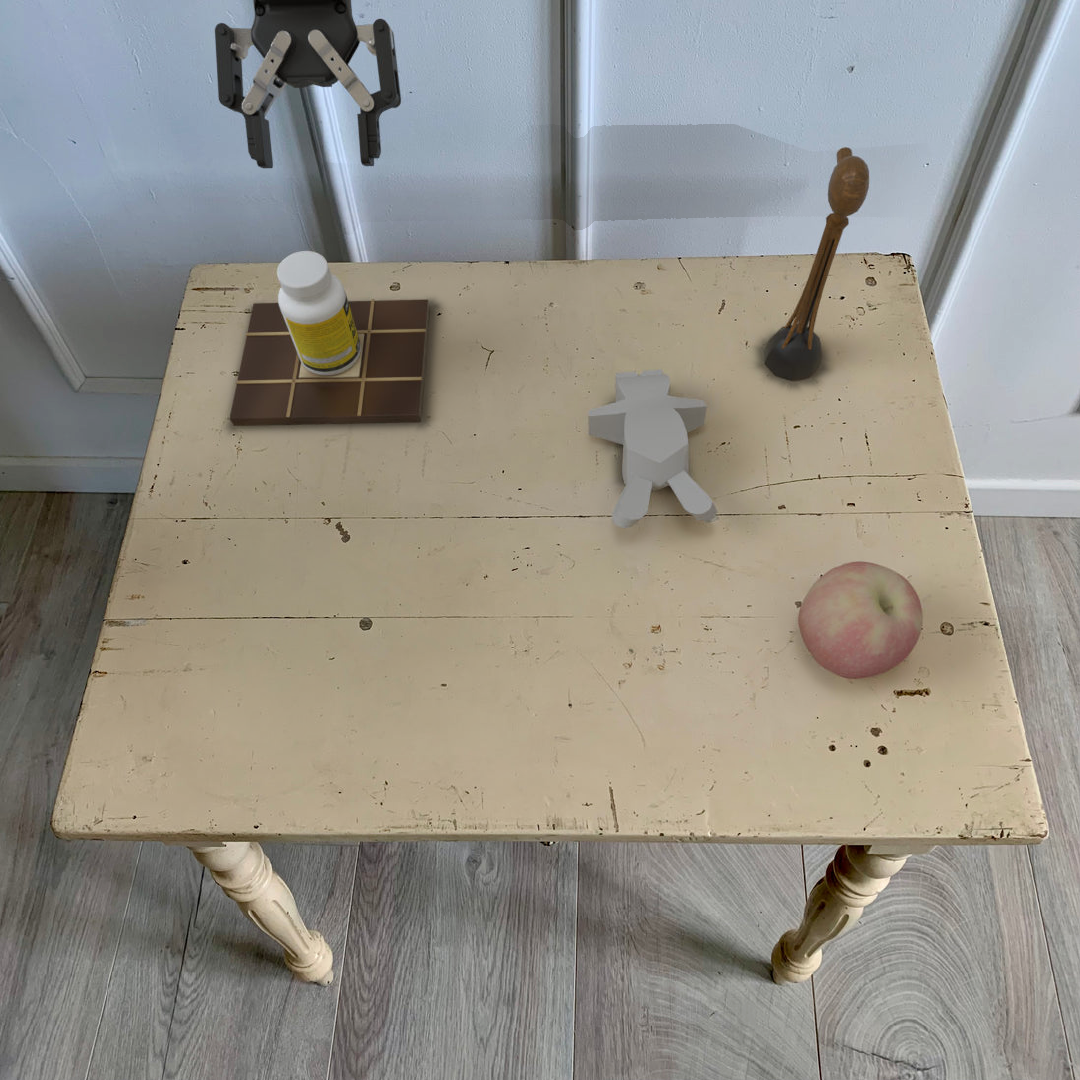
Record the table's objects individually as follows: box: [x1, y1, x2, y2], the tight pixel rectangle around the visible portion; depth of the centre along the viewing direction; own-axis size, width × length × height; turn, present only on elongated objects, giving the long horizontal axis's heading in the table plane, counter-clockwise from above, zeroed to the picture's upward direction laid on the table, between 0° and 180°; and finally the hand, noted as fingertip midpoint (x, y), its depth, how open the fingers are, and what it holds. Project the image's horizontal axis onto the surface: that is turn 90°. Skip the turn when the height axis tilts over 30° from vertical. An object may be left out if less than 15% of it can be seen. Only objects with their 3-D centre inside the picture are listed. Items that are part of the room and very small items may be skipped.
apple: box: [797, 560, 924, 680], centre depth 61 cm, size 8×8×8 cm
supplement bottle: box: [276, 250, 361, 375], centre depth 73 cm, size 5×5×10 cm
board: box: [229, 298, 431, 426], centre depth 78 cm, size 16×13×1 cm
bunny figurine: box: [587, 368, 718, 529], centre depth 70 cm, size 10×5×15 cm
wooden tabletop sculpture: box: [763, 146, 870, 382], centre depth 68 cm, size 6×5×20 cm
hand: (316, 166), depth 73 cm, fingers open, 8 cm apart
